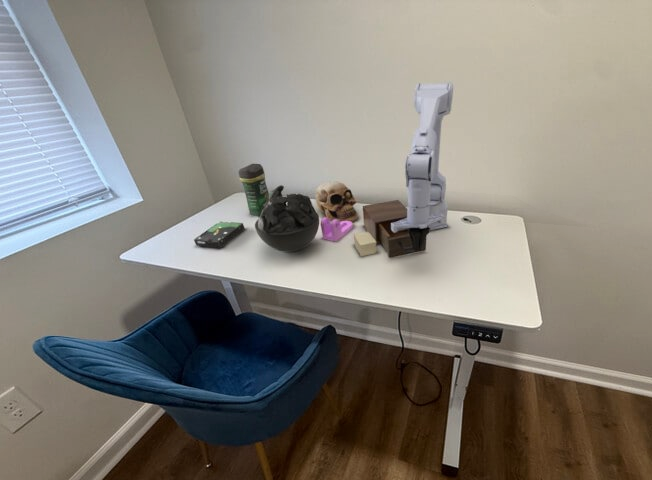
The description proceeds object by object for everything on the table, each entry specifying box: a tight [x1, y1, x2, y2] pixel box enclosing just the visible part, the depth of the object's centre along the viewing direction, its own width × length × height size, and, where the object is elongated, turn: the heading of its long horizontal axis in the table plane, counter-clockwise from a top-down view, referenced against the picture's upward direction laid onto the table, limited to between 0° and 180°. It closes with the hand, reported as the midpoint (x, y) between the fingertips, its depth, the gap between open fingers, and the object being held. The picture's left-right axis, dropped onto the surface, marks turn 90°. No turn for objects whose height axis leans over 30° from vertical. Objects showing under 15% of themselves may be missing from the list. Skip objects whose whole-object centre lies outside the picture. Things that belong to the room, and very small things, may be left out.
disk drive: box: [193, 221, 246, 249], centre depth 114 cm, size 10×3×15 cm
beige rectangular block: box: [353, 231, 378, 257], centre depth 102 cm, size 5×8×4 cm
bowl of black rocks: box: [254, 185, 320, 253], centre depth 101 cm, size 20×20×19 cm
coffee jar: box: [237, 163, 270, 217], centre depth 126 cm, size 10×8×19 cm
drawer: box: [377, 219, 428, 259], centre depth 99 cm, size 18×12×6 cm, turn 18°
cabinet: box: [362, 199, 407, 245], centre depth 110 cm, size 14×13×8 cm
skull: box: [314, 180, 359, 223], centre depth 123 cm, size 16×17×13 cm
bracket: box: [320, 216, 354, 242], centre depth 112 cm, size 13×6×7 cm, turn 152°
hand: (416, 250), depth 90 cm, fingers closed
